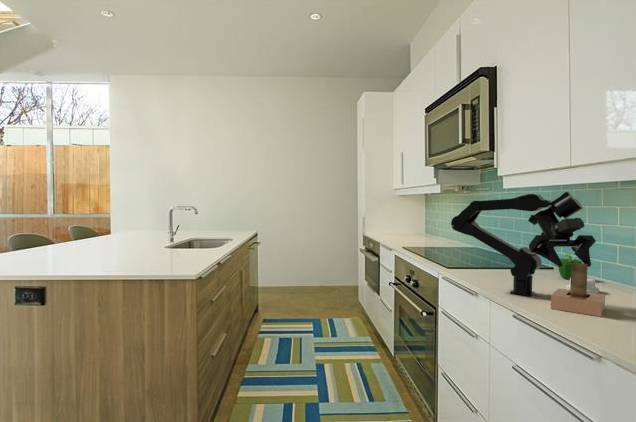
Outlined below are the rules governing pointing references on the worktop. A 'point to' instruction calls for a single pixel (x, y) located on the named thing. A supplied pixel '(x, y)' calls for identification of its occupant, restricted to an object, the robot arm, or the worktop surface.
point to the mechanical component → (590, 286)
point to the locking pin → (578, 280)
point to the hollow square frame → (578, 302)
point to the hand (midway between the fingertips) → (575, 266)
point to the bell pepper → (567, 267)
